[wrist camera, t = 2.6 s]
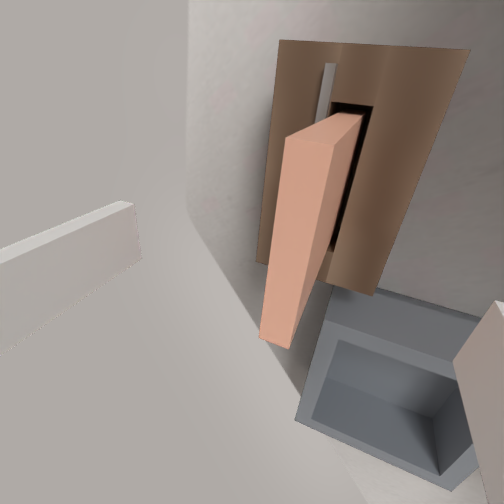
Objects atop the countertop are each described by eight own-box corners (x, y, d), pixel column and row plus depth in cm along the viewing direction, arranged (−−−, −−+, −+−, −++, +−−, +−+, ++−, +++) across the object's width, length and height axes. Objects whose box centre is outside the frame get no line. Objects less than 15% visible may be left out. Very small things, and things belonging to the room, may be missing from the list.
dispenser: (276, 234, 30) (253, 265, 25) (303, 50, 22) (276, 38, 16) (375, 260, 27) (372, 301, 22) (449, 59, 19) (473, 48, 14)
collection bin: (336, 275, 30) (324, 319, 24) (518, 328, 25) (555, 397, 20) (308, 371, 38) (294, 420, 33) (440, 424, 34) (451, 491, 28)
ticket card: (321, 216, 26) (258, 338, 13) (346, 108, 22) (285, 137, 9) (338, 220, 26) (288, 349, 13) (367, 111, 21) (334, 144, 8)
